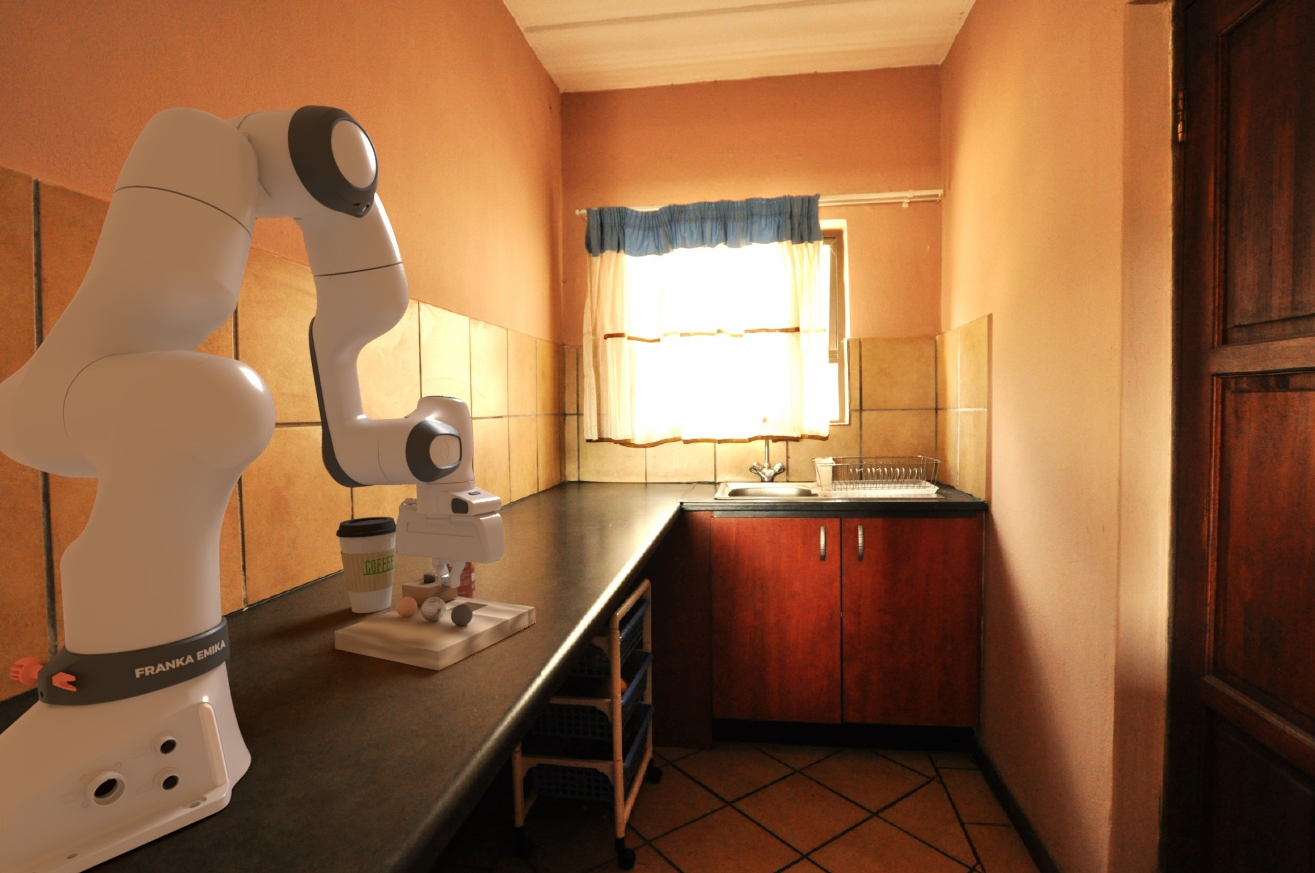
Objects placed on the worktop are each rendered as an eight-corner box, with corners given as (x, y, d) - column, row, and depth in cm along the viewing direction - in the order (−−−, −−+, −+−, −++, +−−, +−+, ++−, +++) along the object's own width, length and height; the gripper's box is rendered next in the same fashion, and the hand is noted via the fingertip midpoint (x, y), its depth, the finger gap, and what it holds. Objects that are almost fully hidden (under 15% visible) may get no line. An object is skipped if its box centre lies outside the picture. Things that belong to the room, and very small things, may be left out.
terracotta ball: (406, 620, 97) (405, 600, 97) (392, 618, 99) (391, 598, 99) (422, 614, 100) (421, 595, 100) (408, 612, 101) (407, 593, 101)
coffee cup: (402, 611, 110) (398, 522, 110) (337, 619, 107) (332, 528, 106) (401, 596, 120) (398, 514, 119) (342, 603, 116) (337, 519, 115)
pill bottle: (480, 602, 114) (478, 539, 113) (444, 609, 111) (441, 544, 110) (469, 594, 119) (466, 534, 119) (434, 601, 116) (432, 538, 115)
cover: (430, 607, 103) (428, 580, 102) (402, 603, 105) (401, 577, 105) (457, 596, 108) (456, 571, 108) (431, 593, 111) (429, 568, 111)
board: (439, 670, 84) (438, 651, 84) (335, 648, 94) (334, 631, 93) (535, 622, 102) (535, 607, 102) (440, 608, 111) (439, 593, 111)
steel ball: (433, 625, 94) (432, 601, 94) (416, 622, 96) (415, 599, 96) (451, 618, 98) (450, 595, 97) (434, 615, 99) (433, 592, 99)
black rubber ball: (462, 630, 92) (461, 608, 92) (446, 627, 94) (445, 606, 94) (477, 623, 95) (476, 602, 95) (461, 620, 96) (460, 600, 96)
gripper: (383, 499, 105) (386, 585, 106) (481, 504, 96) (484, 598, 97) (414, 495, 111) (417, 576, 112) (509, 499, 102) (512, 587, 102)
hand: (449, 586), depth 104 cm, fingers closed
